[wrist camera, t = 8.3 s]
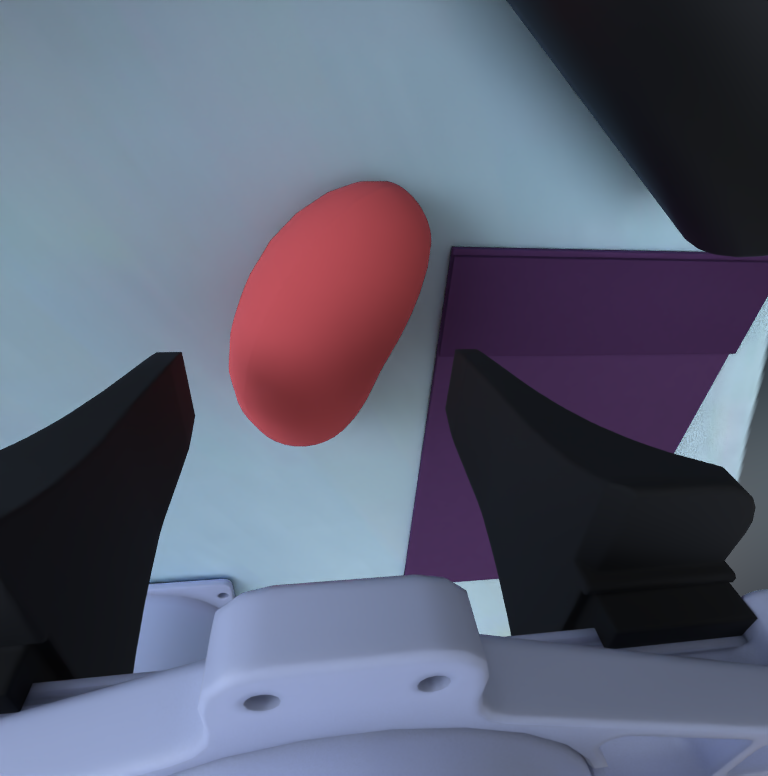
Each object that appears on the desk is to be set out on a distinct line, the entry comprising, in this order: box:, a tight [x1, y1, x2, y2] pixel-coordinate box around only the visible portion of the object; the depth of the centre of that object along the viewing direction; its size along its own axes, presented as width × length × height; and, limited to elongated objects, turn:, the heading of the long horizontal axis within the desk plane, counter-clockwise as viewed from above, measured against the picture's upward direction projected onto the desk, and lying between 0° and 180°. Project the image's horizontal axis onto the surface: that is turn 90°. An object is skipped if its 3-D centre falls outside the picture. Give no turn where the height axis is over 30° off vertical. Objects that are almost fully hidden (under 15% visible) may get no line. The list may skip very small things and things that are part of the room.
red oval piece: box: [229, 181, 431, 446], centre depth 15 cm, size 5×9×6 cm, turn 143°
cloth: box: [404, 247, 768, 582], centre depth 23 cm, size 20×13×1 cm, turn 176°
